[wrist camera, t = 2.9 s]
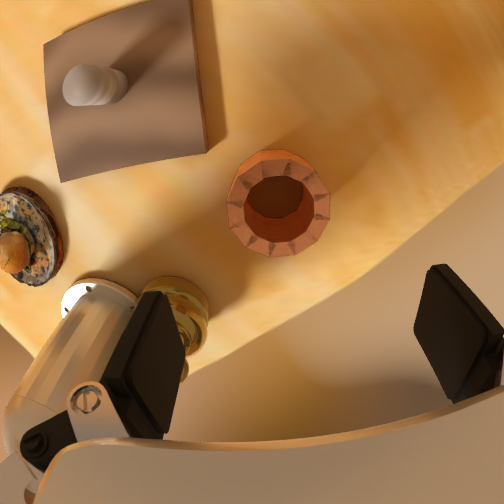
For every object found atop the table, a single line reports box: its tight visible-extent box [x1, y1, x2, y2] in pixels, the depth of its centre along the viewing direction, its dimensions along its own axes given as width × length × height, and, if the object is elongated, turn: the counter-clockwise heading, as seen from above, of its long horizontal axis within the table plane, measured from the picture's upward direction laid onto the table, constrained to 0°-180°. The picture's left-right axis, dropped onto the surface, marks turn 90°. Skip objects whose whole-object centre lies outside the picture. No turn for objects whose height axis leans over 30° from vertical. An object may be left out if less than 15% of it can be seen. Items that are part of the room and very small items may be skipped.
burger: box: [0, 186, 63, 287], centre depth 23 cm, size 12×12×8 cm
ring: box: [226, 149, 330, 257], centre depth 22 cm, size 7×7×5 cm
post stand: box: [43, 0, 209, 183], centre depth 17 cm, size 14×14×6 cm
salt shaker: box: [130, 276, 209, 383], centre depth 25 cm, size 7×7×10 cm
